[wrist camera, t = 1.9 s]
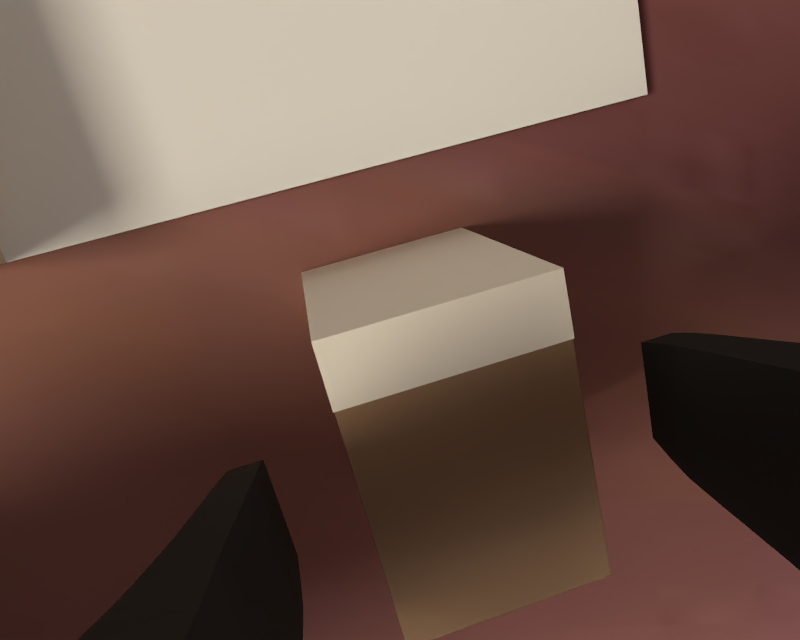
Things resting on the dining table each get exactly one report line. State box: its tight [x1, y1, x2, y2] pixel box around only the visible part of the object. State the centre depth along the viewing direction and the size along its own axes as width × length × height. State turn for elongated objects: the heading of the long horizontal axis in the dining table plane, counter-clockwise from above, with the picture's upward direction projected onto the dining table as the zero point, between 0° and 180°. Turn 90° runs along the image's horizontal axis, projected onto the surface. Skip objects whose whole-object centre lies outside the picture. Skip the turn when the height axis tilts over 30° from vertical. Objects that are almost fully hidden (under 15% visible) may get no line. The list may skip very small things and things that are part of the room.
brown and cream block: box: [301, 227, 611, 640], centre depth 12 cm, size 6×4×6 cm, turn 14°
